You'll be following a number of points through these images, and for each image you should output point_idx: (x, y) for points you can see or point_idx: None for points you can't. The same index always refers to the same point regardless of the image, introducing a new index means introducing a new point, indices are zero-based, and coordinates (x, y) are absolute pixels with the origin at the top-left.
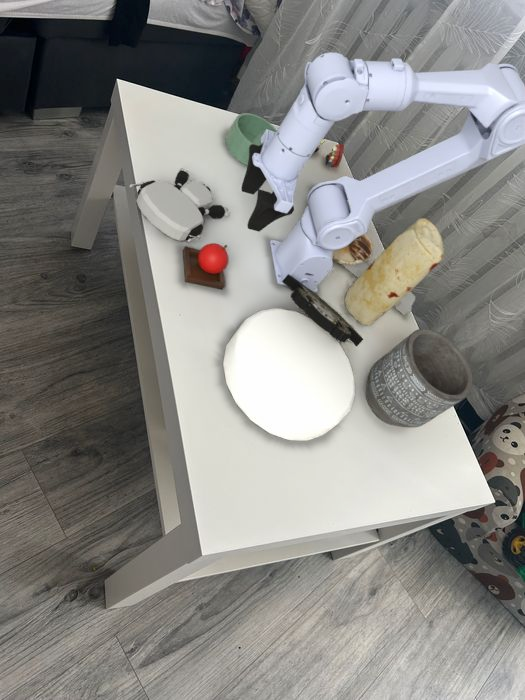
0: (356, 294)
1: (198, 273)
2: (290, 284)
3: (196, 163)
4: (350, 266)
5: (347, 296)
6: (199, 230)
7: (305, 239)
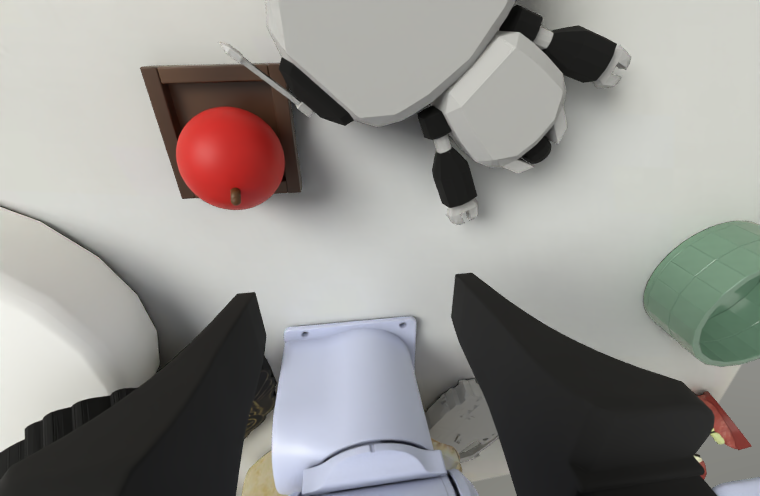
0: None
1: None
2: None
3: (661, 130)
4: None
5: None
6: (317, 105)
7: (327, 446)
